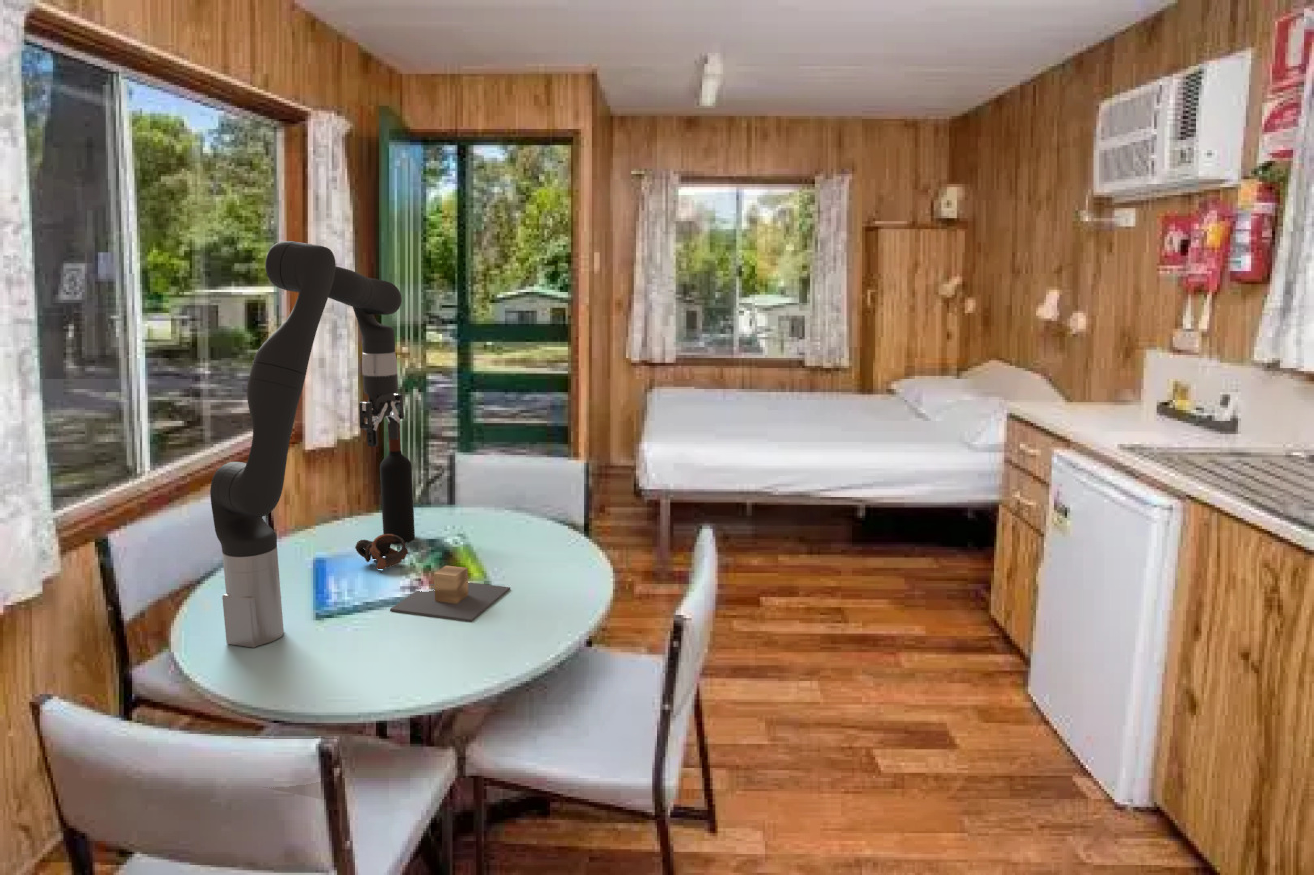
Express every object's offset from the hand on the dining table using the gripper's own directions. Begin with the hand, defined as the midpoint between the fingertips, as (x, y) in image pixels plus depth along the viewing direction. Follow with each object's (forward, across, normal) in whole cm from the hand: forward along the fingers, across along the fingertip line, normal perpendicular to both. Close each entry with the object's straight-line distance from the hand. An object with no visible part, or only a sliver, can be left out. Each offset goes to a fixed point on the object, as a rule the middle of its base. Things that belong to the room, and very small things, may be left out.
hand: (383, 442), depth 205 cm
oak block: (+28, -18, -26) cm, 42 cm away
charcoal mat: (+28, -18, -26) cm, 42 cm away
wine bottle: (+28, +14, +6) cm, 32 cm away
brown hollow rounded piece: (+28, -4, 0) cm, 29 cm away
